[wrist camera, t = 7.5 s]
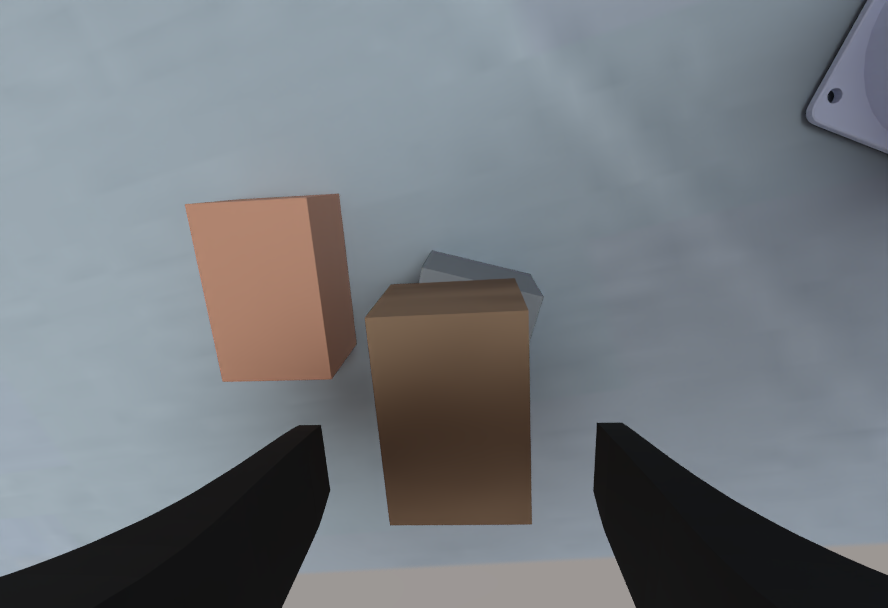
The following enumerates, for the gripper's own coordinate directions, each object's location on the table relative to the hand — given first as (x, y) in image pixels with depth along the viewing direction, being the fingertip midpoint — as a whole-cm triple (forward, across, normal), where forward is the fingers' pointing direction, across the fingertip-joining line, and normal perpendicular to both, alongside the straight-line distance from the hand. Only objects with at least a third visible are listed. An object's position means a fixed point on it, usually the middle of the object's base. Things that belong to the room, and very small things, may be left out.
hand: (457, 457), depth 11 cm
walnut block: (+6, 0, 0) cm, 6 cm away
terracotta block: (+10, +8, -3) cm, 13 cm away
